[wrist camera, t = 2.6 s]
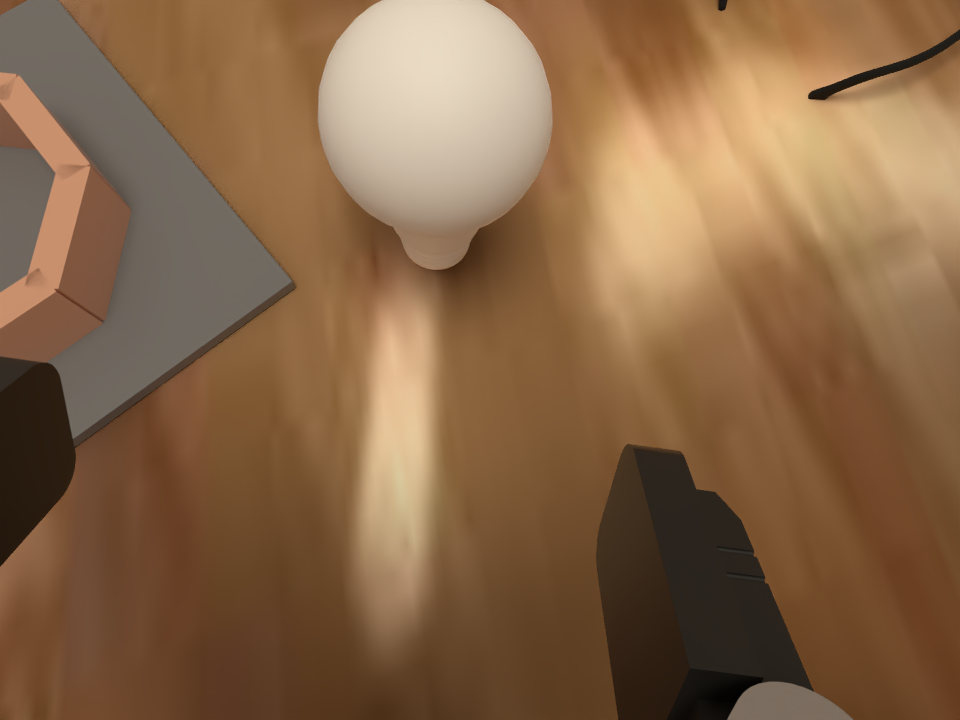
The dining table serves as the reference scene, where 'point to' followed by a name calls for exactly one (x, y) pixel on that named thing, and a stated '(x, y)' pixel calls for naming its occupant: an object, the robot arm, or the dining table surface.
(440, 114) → the lightbulb
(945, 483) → the dining table surface
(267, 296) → the ring holder
